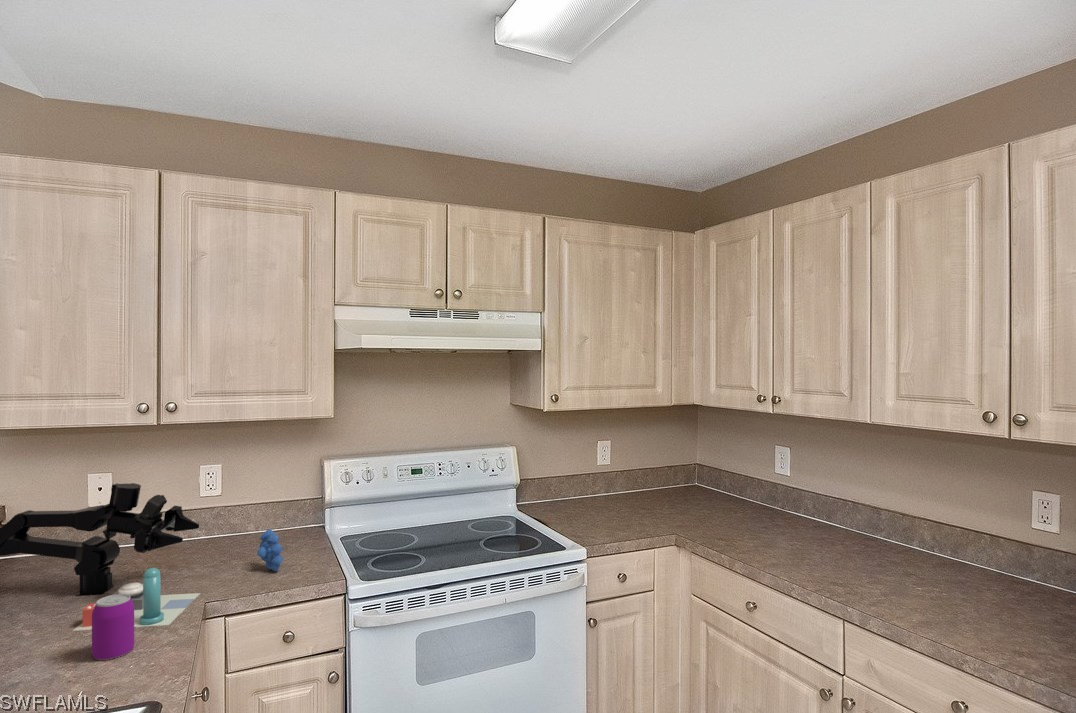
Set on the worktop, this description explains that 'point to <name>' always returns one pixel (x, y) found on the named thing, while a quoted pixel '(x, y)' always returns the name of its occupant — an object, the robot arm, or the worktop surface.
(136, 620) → the board
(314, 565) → the worktop surface
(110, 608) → the beverage can
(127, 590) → the dome
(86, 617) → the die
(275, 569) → the grapes
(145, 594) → the teal dildo
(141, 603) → the tray
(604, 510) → the worktop surface
